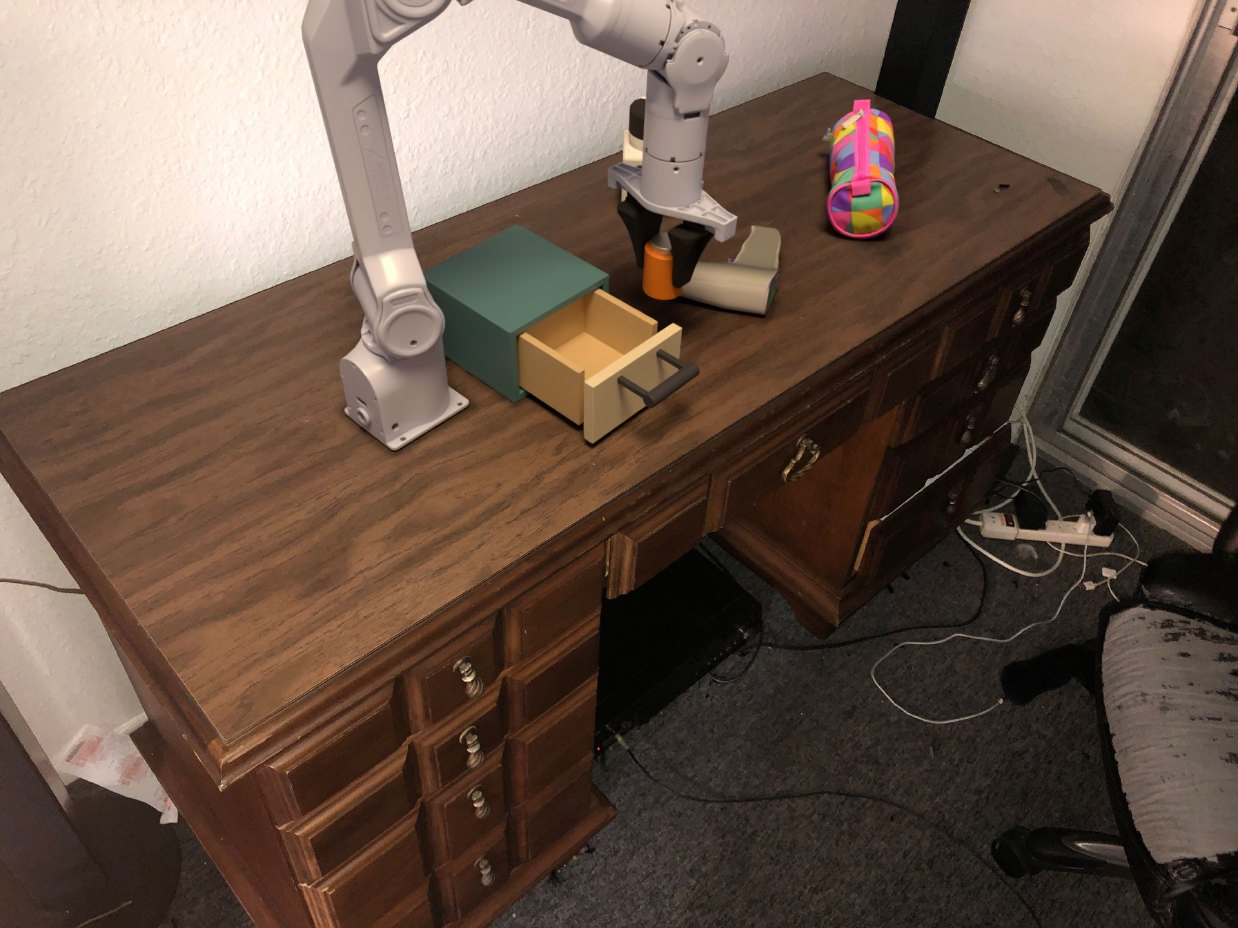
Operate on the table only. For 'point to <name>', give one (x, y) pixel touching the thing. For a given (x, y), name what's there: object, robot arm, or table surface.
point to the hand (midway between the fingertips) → (664, 274)
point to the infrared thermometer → (740, 275)
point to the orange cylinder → (659, 269)
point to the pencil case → (862, 173)
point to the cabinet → (504, 300)
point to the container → (634, 136)
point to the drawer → (601, 362)
